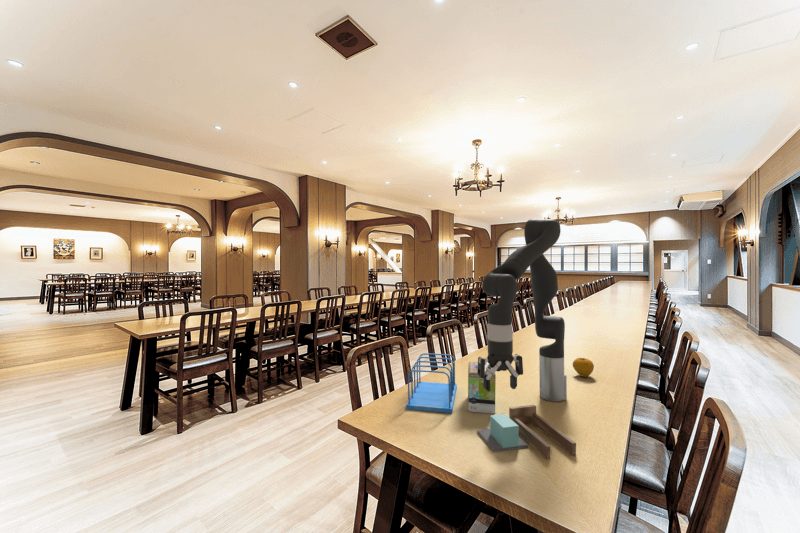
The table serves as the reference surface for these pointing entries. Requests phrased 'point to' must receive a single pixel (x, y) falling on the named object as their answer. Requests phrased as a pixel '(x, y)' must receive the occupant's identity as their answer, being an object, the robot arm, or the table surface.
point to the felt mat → (494, 444)
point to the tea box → (480, 391)
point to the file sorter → (432, 389)
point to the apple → (583, 366)
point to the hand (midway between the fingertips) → (500, 389)
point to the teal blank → (504, 430)
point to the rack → (529, 416)
